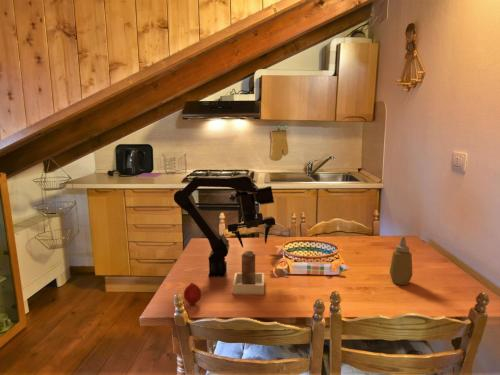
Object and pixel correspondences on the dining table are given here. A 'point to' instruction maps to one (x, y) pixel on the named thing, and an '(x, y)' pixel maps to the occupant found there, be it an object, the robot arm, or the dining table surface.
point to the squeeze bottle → (401, 264)
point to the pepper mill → (248, 267)
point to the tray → (248, 285)
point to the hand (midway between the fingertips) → (254, 245)
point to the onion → (192, 294)
